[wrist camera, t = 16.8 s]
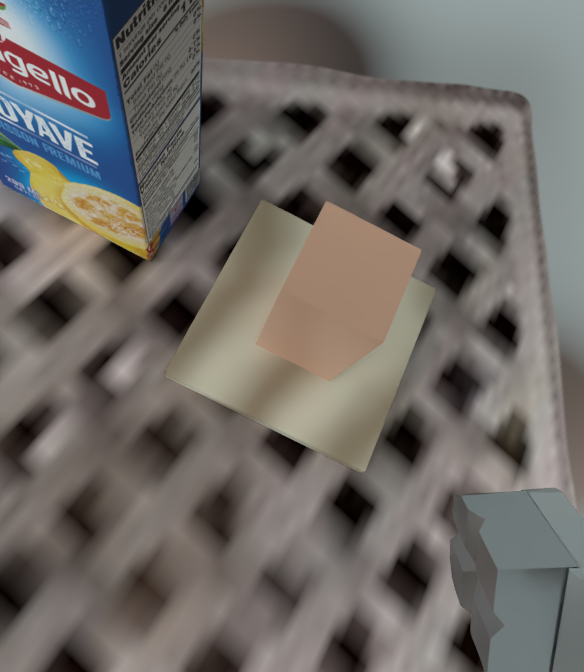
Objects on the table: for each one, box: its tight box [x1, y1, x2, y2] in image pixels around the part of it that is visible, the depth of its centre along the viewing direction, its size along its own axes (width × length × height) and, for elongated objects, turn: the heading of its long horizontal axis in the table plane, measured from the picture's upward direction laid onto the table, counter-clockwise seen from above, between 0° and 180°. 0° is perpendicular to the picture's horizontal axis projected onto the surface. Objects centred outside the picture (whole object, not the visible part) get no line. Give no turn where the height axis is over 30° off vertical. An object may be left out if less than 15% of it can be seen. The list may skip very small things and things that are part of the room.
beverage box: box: [0, 0, 204, 261], centre depth 25 cm, size 7×11×22 cm, turn 64°
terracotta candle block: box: [256, 201, 422, 381], centre depth 30 cm, size 5×5×10 cm
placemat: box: [164, 199, 436, 472], centre depth 35 cm, size 14×14×1 cm
